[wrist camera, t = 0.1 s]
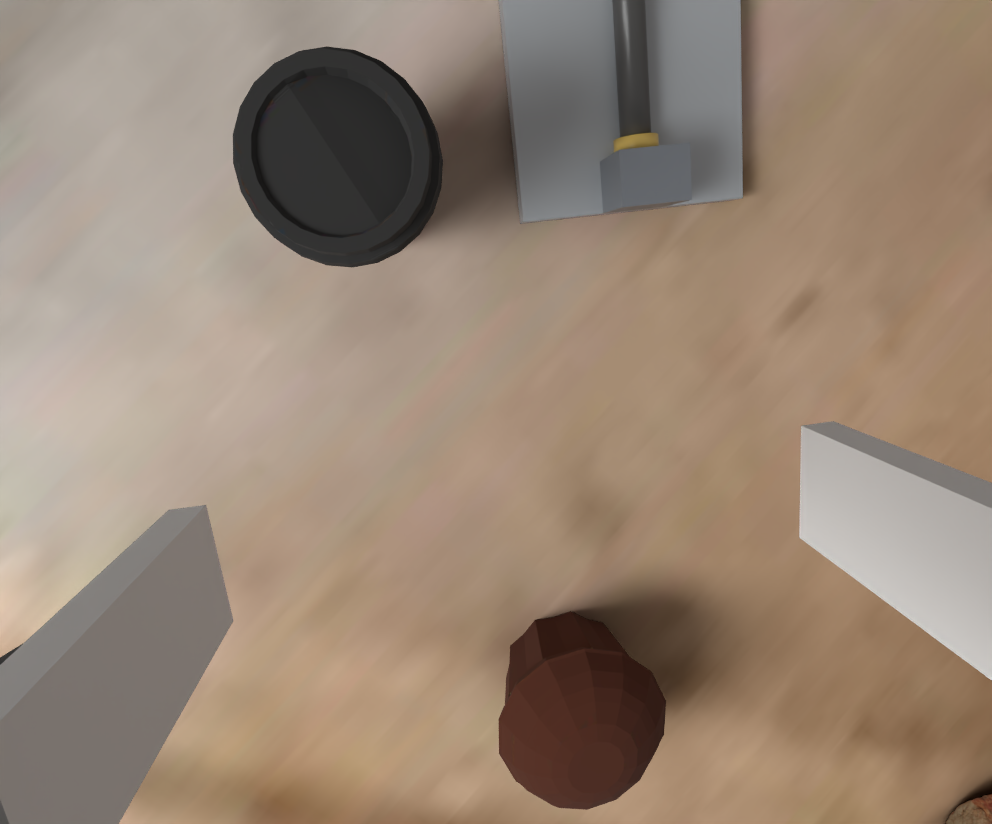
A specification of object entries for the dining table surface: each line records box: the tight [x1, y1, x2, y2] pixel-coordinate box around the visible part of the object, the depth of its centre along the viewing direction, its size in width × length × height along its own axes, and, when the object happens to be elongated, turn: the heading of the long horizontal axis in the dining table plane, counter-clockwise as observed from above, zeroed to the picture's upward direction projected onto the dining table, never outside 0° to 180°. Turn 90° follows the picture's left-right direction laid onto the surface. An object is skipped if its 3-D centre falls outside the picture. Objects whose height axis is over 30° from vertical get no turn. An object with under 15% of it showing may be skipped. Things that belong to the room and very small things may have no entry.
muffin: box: [499, 611, 666, 809], centre depth 42 cm, size 12×11×10 cm
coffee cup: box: [233, 47, 443, 267], centre depth 31 cm, size 8×8×15 cm
